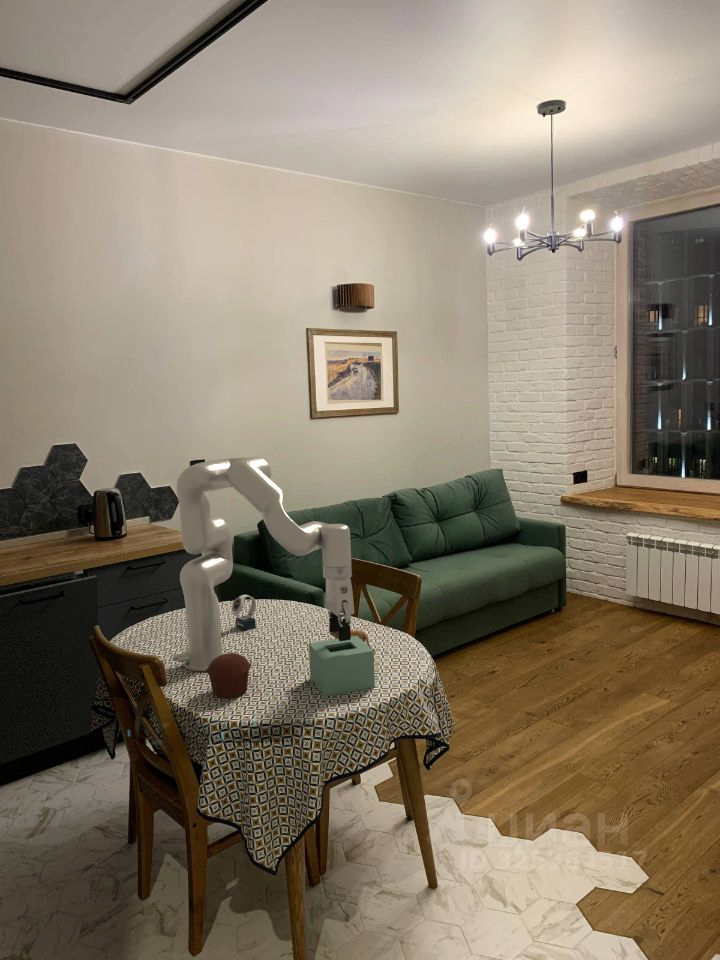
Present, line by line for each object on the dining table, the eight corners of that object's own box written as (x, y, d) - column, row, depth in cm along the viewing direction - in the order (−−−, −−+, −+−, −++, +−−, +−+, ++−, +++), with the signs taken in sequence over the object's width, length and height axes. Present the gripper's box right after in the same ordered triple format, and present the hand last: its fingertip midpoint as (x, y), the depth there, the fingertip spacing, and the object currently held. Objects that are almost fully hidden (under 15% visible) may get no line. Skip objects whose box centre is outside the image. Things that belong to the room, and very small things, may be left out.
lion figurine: (326, 651, 218) (325, 623, 217) (332, 645, 223) (331, 617, 222) (372, 656, 214) (371, 626, 212) (378, 649, 219) (377, 621, 217)
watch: (231, 628, 243) (229, 596, 242) (251, 622, 248) (249, 591, 247) (239, 632, 239) (237, 600, 237) (260, 626, 244) (258, 595, 242)
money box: (324, 696, 187) (322, 659, 186) (310, 678, 199) (308, 643, 198) (374, 687, 192) (373, 650, 190) (358, 669, 204) (356, 635, 202)
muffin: (240, 679, 200) (238, 644, 199) (260, 692, 191) (258, 655, 190) (200, 691, 193) (198, 655, 192) (219, 705, 184) (216, 667, 183)
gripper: (362, 576, 184) (364, 644, 187) (340, 562, 201) (342, 624, 203) (334, 580, 182) (336, 648, 184) (314, 565, 198) (317, 628, 200)
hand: (340, 635), depth 194 cm, fingers open, 7 cm apart
